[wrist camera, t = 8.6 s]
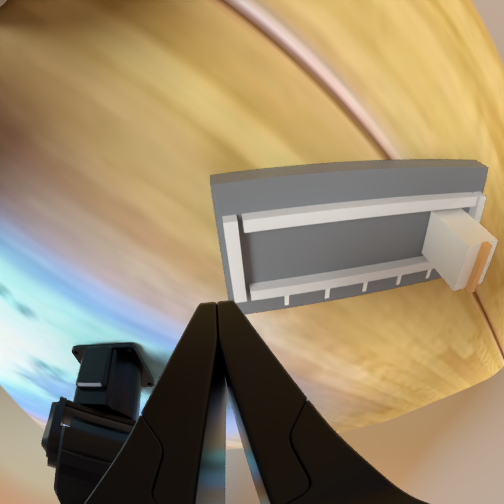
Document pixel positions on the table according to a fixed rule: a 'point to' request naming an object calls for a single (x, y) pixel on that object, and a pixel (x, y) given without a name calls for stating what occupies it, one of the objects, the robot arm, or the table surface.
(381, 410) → the table surface
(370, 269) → the fader console
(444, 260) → the fader knob
